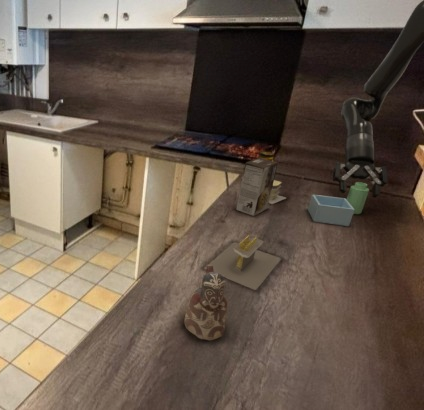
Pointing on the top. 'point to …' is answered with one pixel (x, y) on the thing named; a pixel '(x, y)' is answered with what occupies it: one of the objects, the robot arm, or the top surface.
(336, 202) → the case
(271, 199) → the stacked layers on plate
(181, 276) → the top surface
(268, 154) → the condiment
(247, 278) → the platform
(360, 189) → the bottle
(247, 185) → the coffee box
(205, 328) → the figurine
